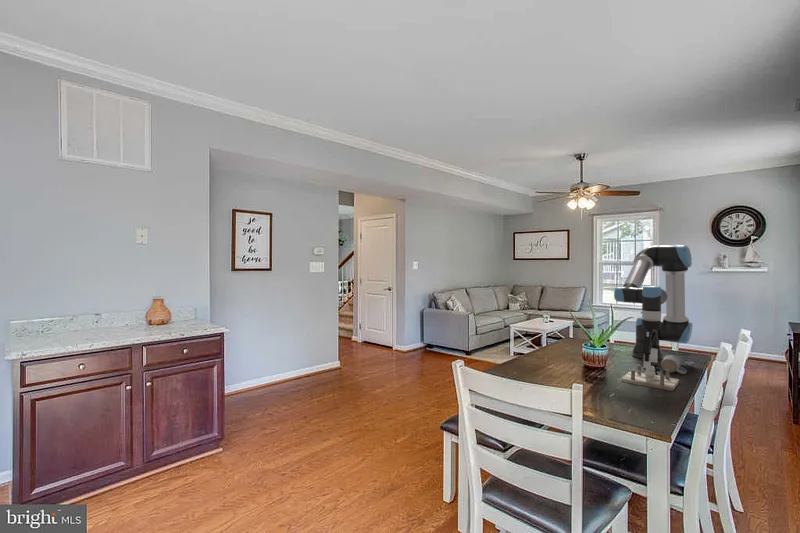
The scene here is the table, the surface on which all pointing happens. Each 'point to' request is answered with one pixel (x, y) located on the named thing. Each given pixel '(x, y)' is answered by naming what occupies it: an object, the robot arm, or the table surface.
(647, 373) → the valve
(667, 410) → the table surface
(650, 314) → the robot arm
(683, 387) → the table surface
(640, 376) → the peg board
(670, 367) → the ceramic mug
